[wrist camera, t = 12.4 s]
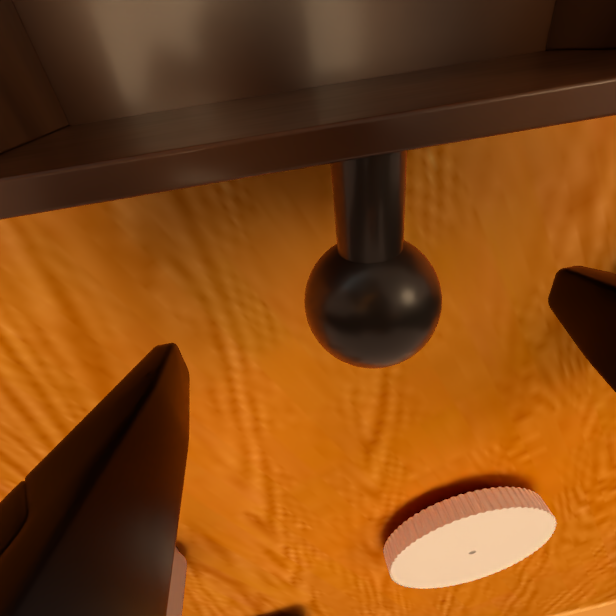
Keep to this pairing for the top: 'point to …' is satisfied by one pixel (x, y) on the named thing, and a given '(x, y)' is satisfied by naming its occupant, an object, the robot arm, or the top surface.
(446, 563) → the plastic lid
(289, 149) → the bin
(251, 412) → the top surface
